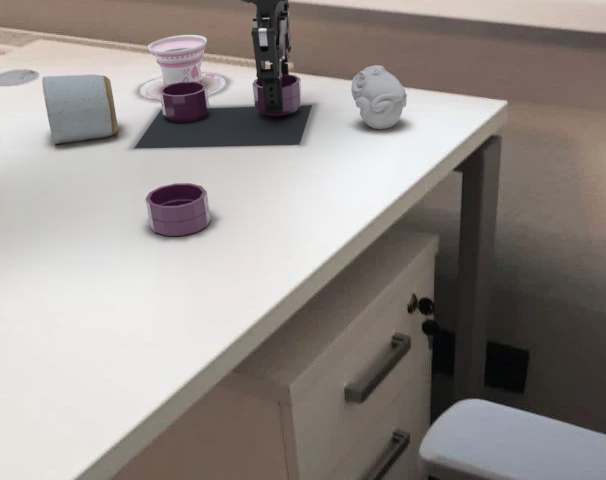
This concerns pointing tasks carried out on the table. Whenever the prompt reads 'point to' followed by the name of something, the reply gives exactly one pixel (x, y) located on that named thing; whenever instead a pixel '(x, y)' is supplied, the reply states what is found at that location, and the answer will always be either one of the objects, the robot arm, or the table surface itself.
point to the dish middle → (178, 209)
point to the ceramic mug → (79, 107)
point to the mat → (227, 129)
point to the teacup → (180, 61)
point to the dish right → (289, 92)
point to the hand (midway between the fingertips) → (277, 102)
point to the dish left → (184, 101)
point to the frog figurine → (378, 97)
